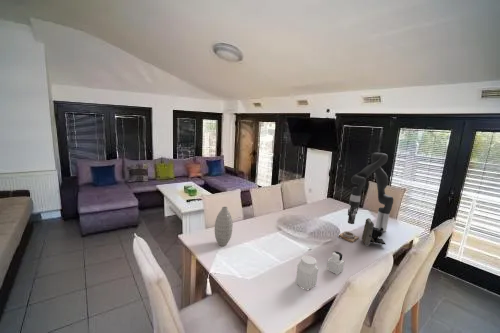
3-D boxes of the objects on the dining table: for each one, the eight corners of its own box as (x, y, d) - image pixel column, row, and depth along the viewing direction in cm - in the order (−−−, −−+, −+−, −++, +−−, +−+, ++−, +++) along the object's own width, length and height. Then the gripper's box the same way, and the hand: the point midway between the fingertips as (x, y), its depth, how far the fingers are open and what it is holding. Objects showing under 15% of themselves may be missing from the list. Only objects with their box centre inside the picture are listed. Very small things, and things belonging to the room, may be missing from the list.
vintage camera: (385, 249, 180) (391, 225, 177) (364, 245, 183) (369, 221, 180) (381, 243, 190) (386, 220, 186) (361, 239, 193) (366, 217, 189)
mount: (345, 232, 203) (345, 229, 202) (358, 238, 194) (359, 234, 193) (338, 236, 195) (338, 232, 194) (352, 242, 186) (352, 238, 185)
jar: (305, 274, 141) (308, 252, 139) (318, 283, 134) (322, 260, 131) (292, 282, 134) (295, 258, 131) (306, 292, 127) (309, 267, 124)
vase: (215, 239, 175) (216, 203, 170) (231, 240, 176) (234, 204, 170) (212, 248, 163) (214, 210, 158) (230, 249, 163) (233, 211, 158)
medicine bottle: (332, 265, 153) (335, 248, 151) (342, 271, 148) (345, 254, 146) (326, 269, 149) (329, 252, 147) (336, 275, 144) (339, 257, 141)
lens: (349, 221, 196) (351, 209, 194) (355, 223, 192) (357, 211, 190) (346, 222, 192) (348, 211, 190) (352, 224, 188) (354, 213, 187)
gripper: (354, 197, 196) (351, 216, 199) (346, 200, 186) (342, 219, 189) (363, 200, 190) (359, 219, 193) (355, 203, 181) (351, 223, 184)
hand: (351, 219), depth 191 cm, fingers closed on lens, 5 cm apart
